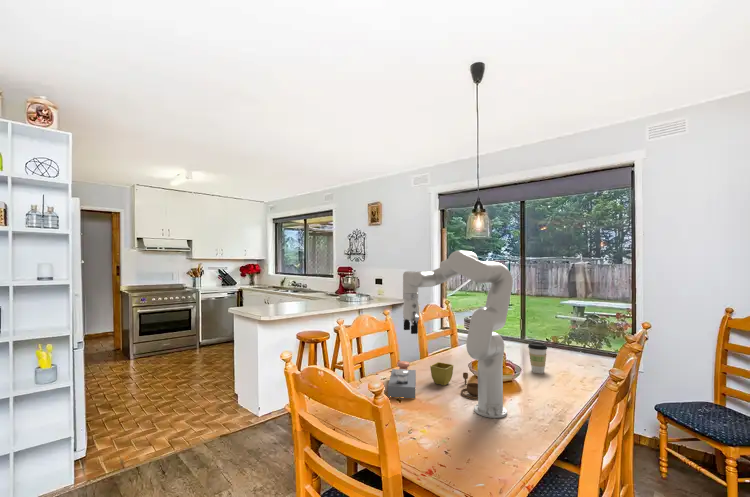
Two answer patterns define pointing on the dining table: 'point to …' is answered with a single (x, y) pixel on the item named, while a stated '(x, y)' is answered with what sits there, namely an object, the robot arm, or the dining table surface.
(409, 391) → the block
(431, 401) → the dining table surface
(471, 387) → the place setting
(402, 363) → the terracotta plunger
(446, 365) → the flower pot
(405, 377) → the metal plunger
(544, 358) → the coffee cup
